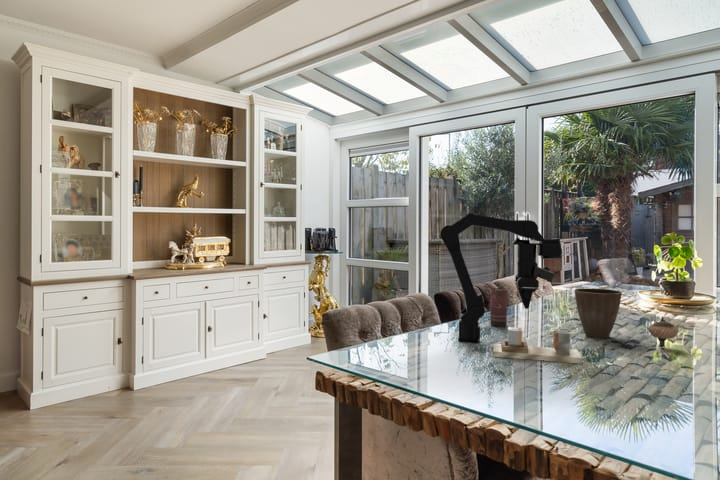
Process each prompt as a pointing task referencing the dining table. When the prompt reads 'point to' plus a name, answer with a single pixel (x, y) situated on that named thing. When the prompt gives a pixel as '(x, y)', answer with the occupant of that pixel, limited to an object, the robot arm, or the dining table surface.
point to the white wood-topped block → (514, 336)
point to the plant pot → (597, 310)
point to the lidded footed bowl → (663, 331)
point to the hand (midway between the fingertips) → (525, 306)
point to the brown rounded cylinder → (498, 307)
